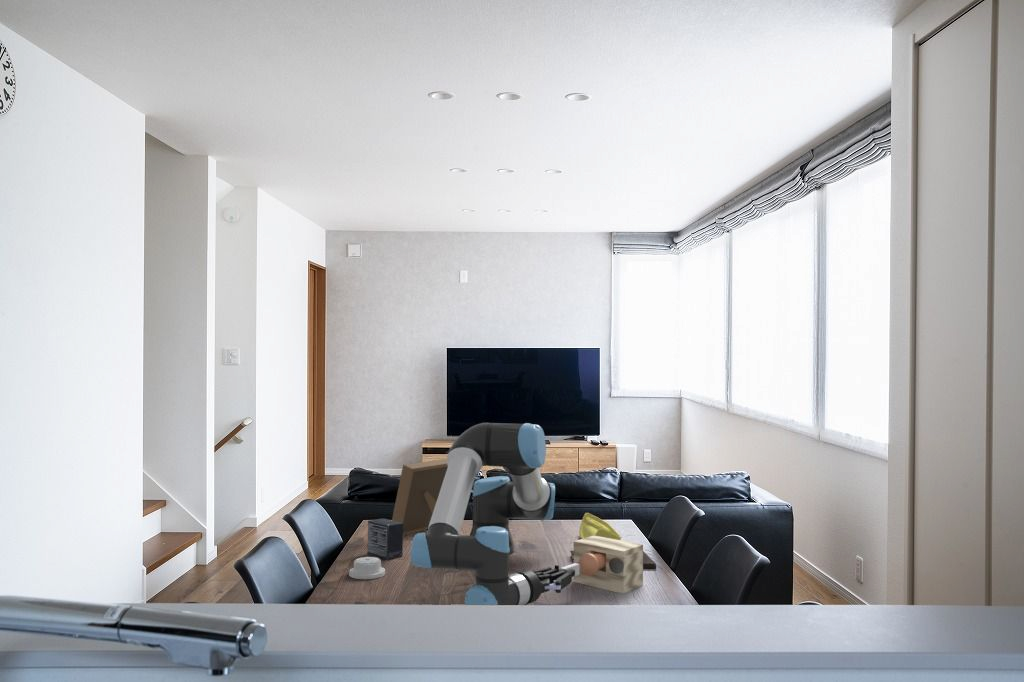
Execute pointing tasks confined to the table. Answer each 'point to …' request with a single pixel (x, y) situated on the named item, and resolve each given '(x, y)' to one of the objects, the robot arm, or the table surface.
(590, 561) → the plug
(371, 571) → the mechanical component
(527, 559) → the table surface
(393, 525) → the small box
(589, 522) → the plastic component
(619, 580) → the socket block
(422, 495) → the photo frame
